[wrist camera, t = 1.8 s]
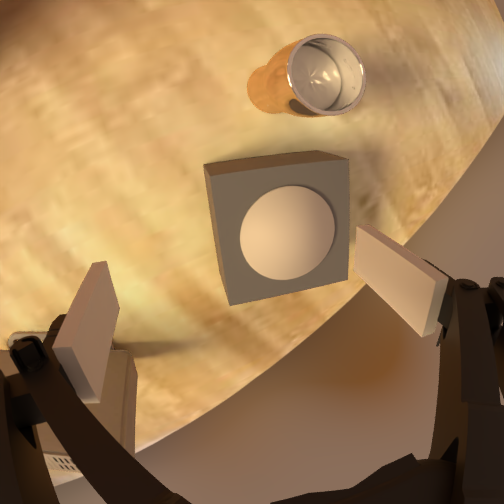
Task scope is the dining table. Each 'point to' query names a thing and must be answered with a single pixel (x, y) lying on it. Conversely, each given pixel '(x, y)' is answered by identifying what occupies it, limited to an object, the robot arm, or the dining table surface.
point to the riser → (279, 223)
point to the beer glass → (310, 79)
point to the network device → (92, 404)
